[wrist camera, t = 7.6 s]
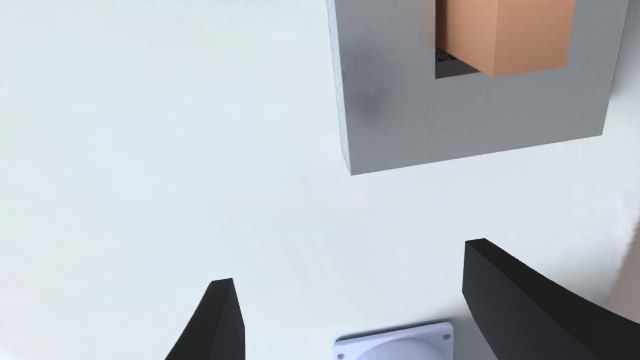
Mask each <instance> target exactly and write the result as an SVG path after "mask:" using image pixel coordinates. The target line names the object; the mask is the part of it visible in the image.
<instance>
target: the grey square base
mask: <svg viewBox="0 0 640 360" xmlns="http://www.w3.org/2000/svg"><path fill="white" fill-rule="evenodd" d="M326 1H327V11H328V21H329V30H330V40H331V50H332V59H333V69H334V79H335V88H336V98H337V108H338V117H339V127H340V137H341V146H342V154H343V156H344V159H345V161H346V164H347V167H348V169H349V172H350V174H351V176H352V175H358V174H364V173H370V172H376V171H383V170H389V169H395V168H401V167H407V166H414V165H420V164H426V163H432V162H438V161H445V160H451V159H457V158H463V157H469V156H476V155H482V154H488V153H494V152H500V151H506V150H513V149H519V148H525V147H531V146H537V145H544V144H550V143H556V142H562V141H568V140H575V139H581V138H587V137H593V136H599V135H602V132H603V127H604V122H605V117H606V113H607V108H608V103H609V98H610V93H611V88H612V83H613V78H614V73H615V68H616V64H617V59H618V54H619V49H620V44H621V39H622V34H623V29H624V24H625V19H626V15H627V10H628V5H629V0H576V2H575V9H574V16H573V22H572V29H571V36H570V43H569V49H568V56H567V63H566V67H561V68H555V69H548V70H542V71H535V72H529V73H522V74H515V75H509V76H502V77H496V78H492V77H490V76H488V75H487V74H485V73H483V72H481V71H479V70H478V69H476V68H474V67H472V66H470V65H469V64H467V63H465V62H463V61H461V60H460V59H455V60H448V61H441V62H435V0H326Z"/></svg>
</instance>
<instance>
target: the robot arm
mask: <svg viewBox="0 0 640 360" xmlns="http://www.w3.org/2000/svg"><path fill="white" fill-rule="evenodd" d="M462 293H463V295H464V297H465V300H466V302H467V304H468V307H469V309H470V311H471V313H472V316H473V318H474V320H475V322H476V324H477V325H478V327H479V329H480V330H481V332H482V334H483V335H484V337H485V339H486V340H487V342H488V344H489V345H490V347H491V349H492V350H493V352H494V354H495V355H496V357H497V359H498V360H640V324H638V323H636V322H633V321H631V320H628V319H626V318H624V317H622V316H619V315H617V314H615V313H613V312H611V311H609V310H607V309H604V308H602V307H600V306H598V305H596V304H594V303H592V302H590V301H588V300H586V299H584V298H582V297H580V296H578V295H576V294H575V293H573V292H571V291H569V290H567V289H566V288H564V287H562V286H560V285H558V284H557V283H555V282H553V281H552V280H550V279H548V278H546V277H545V276H543V275H542V274H540V273H538V272H537V271H535V270H534V269H532V268H530V267H529V266H527V265H526V264H524V263H523V262H521V261H519V260H518V259H516V258H515V257H513V256H512V255H510V254H509V253H507V252H506V251H504V250H503V249H501V248H500V247H498V246H496V245H495V244H493V243H492V242H490V241H489V240H487V239H485V238H482V239H475V240H469V241H465V255H464V270H463V285H462ZM453 342H454V328H453V326H452V324H451V323H449V322H443V323H437V324H432V325H426V326H420V327H415V328H409V329H404V330H398V331H393V332H387V333H382V334H376V335H370V336H365V337H359V338H354V339H348V340H343V341H338V342H335V343H334V344H333V345H332V353H333V359H334V360H453ZM165 360H245V326H244V322H243V318H242V314H241V310H240V306H239V302H238V298H237V295H236V291H235V287H234V283H233V279H232V278H228V279H222V280H216V281H212V282H211V283H210V284H209V286H208V288H207V290H206V292H205V294H204V295H203V297H202V299H201V301H200V303H199V305H198V307H197V309H196V310H195V312H194V314H193V316H192V317H191V319H190V321H189V322H188V324H187V326H186V327H185V329H184V331H183V332H182V334H181V336H180V337H179V339H178V341H177V342H176V344H175V345H174V347H173V348H172V349H171V351H170V352H169V354H168V355H167V357H166V358H165Z"/></svg>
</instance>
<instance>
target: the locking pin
mask: <svg viewBox="0 0 640 360" xmlns="http://www.w3.org/2000/svg"><path fill="white" fill-rule="evenodd" d="M575 2H576V0H435V46H436V47H438V48H440V49H442V50H443V51H445V52H447V53H449V54H451V55H452V56H454V57H456V58H458V59H460V60H461V61H463V62H465V63H467V64H469V65H470V66H472V67H474V68H476V69H478V70H479V71H481V72H483V73H485V74H487V75H488V76H490V77H492V78H496V77H502V76H509V75H515V74H522V73H529V72H535V71H542V70H548V69H555V68H561V67H566V63H567V56H568V49H569V43H570V36H571V29H572V22H573V16H574V9H575Z"/></svg>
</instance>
